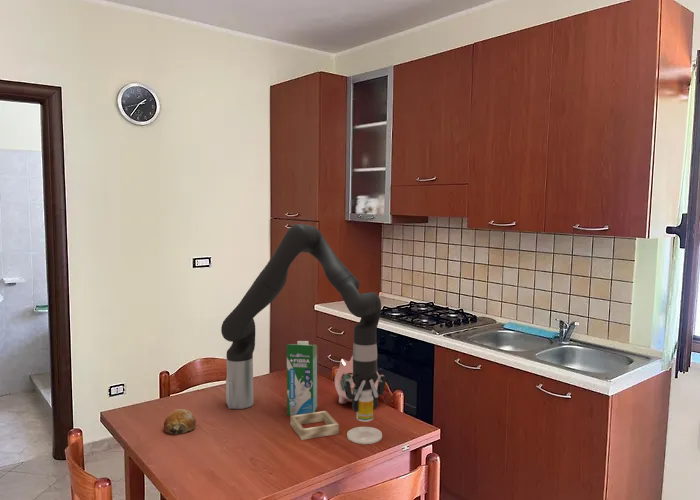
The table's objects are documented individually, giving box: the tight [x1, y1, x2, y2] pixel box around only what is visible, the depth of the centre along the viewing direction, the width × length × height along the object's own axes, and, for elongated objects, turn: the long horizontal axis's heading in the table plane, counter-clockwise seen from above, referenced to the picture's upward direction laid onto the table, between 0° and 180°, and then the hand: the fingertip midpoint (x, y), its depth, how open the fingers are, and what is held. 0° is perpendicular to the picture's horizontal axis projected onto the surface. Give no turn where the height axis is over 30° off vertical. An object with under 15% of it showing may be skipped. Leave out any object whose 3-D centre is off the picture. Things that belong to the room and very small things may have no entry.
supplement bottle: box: [355, 389, 374, 423], centre depth 173 cm, size 5×5×10 cm
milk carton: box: [286, 340, 318, 416], centre depth 193 cm, size 9×9×25 cm
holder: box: [289, 410, 340, 441], centre depth 179 cm, size 12×12×3 cm
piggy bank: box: [334, 355, 380, 405], centre depth 203 cm, size 15×18×16 cm
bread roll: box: [163, 408, 197, 435], centre depth 180 cm, size 10×10×8 cm
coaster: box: [346, 426, 383, 445], centre depth 174 cm, size 11×11×1 cm
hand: (364, 409), depth 173 cm, fingers closed on supplement bottle, 5 cm apart
